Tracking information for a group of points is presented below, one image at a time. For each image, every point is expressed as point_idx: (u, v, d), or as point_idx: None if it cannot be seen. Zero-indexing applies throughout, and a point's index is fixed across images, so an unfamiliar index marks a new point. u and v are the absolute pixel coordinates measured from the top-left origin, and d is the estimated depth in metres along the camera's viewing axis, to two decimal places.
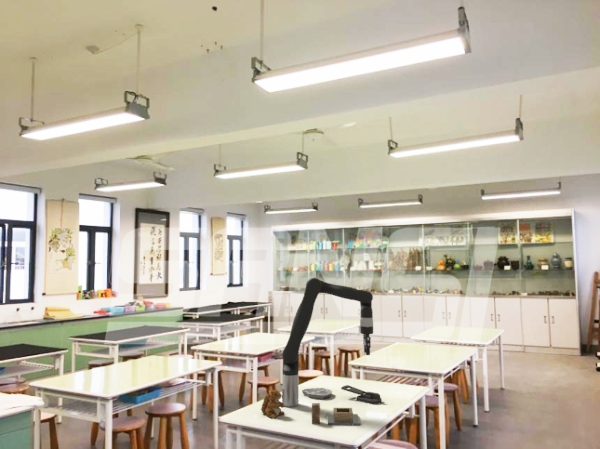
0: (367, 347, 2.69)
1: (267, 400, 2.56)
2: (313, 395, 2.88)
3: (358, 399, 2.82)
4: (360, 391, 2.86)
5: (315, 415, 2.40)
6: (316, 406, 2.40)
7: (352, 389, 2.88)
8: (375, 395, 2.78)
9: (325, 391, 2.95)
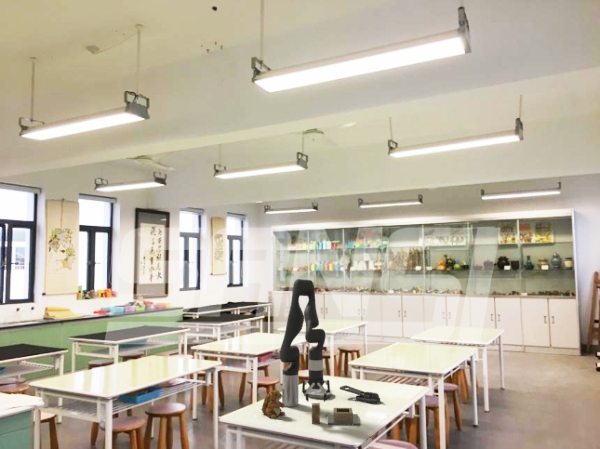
0: (329, 392, 2.42)
1: (267, 400, 2.55)
2: (313, 395, 2.88)
3: (357, 399, 2.82)
4: (359, 391, 2.86)
5: (315, 415, 2.40)
6: (316, 406, 2.40)
7: (350, 389, 2.88)
8: (374, 395, 2.79)
9: None
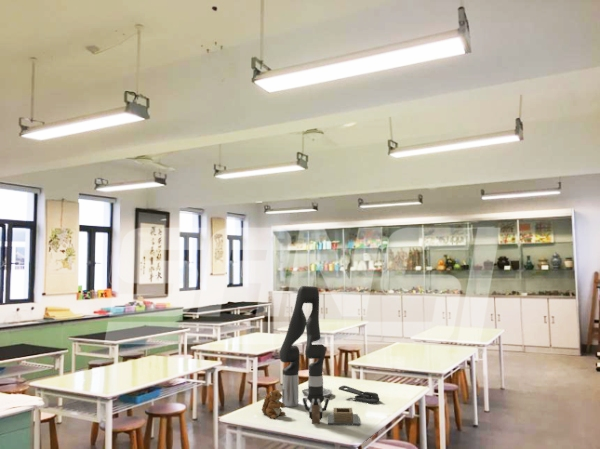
0: None
1: (268, 400, 2.55)
2: None
3: (356, 399, 2.82)
4: (358, 391, 2.86)
5: (315, 415, 2.40)
6: (316, 406, 2.40)
7: (349, 389, 2.87)
8: (373, 395, 2.79)
9: (325, 391, 2.95)
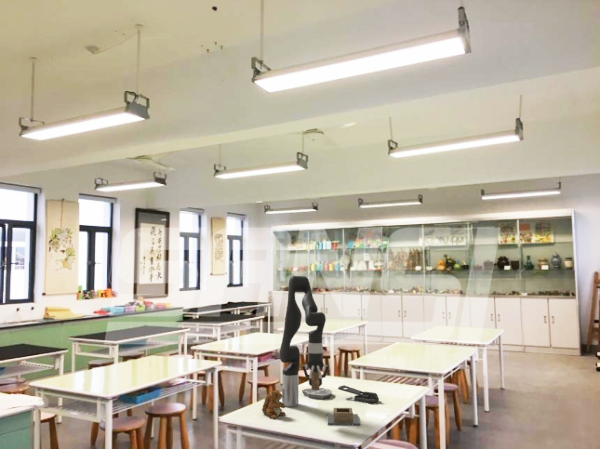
0: (324, 376, 2.43)
1: (268, 400, 2.55)
2: (313, 395, 2.88)
3: (355, 399, 2.82)
4: (357, 391, 2.86)
5: (314, 382, 2.41)
6: (316, 373, 2.42)
7: (349, 389, 2.88)
8: (373, 395, 2.79)
9: (325, 391, 2.95)
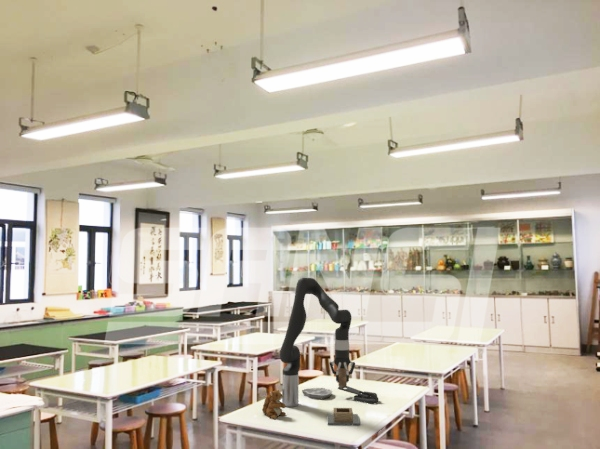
0: (351, 373, 2.46)
1: (268, 400, 2.55)
2: (313, 395, 2.88)
3: (355, 399, 2.83)
4: (357, 391, 2.86)
5: (342, 378, 2.45)
6: (343, 369, 2.45)
7: (349, 389, 2.88)
8: (372, 395, 2.79)
9: (325, 391, 2.95)
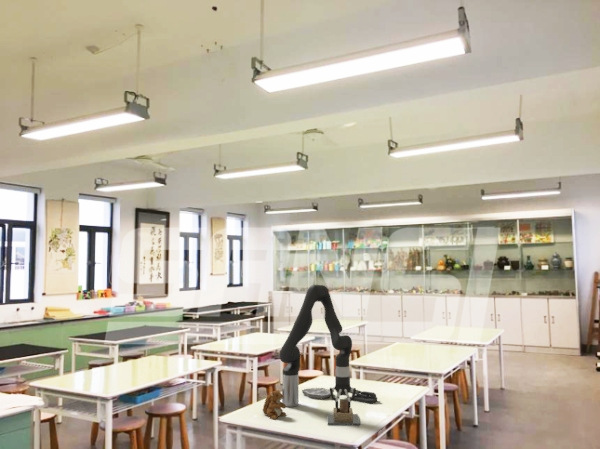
0: (353, 399, 2.45)
1: (268, 401, 2.54)
2: (313, 395, 2.88)
3: (354, 399, 2.83)
4: (356, 391, 2.87)
5: (343, 411, 2.43)
6: (344, 402, 2.44)
7: None
8: (371, 394, 2.80)
9: (325, 391, 2.95)
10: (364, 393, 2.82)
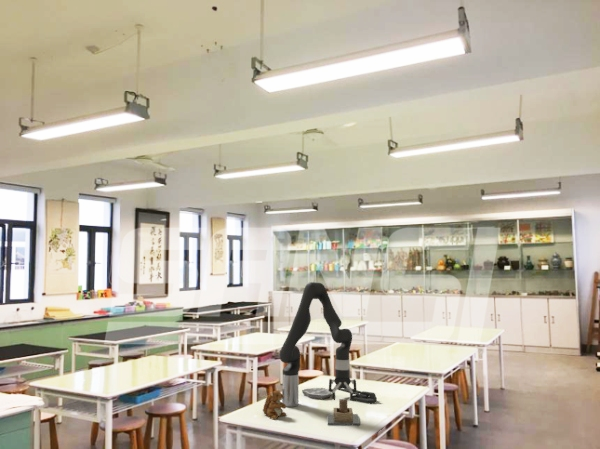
0: (355, 391, 2.45)
1: (269, 401, 2.54)
2: (313, 395, 2.88)
3: (353, 399, 2.83)
4: None
5: (343, 411, 2.43)
6: (344, 402, 2.44)
7: (347, 389, 2.88)
8: (371, 394, 2.80)
9: (325, 391, 2.95)
10: (363, 393, 2.82)
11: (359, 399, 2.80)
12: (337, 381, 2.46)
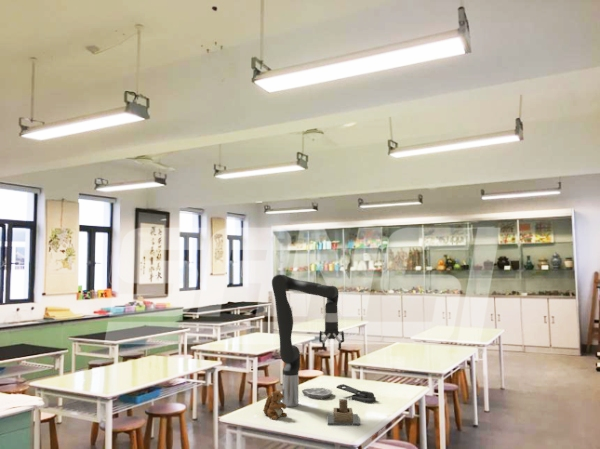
0: (343, 341, 2.71)
1: (269, 401, 2.54)
2: (313, 395, 2.88)
3: (352, 398, 2.85)
4: (355, 390, 2.88)
5: (343, 411, 2.43)
6: (344, 402, 2.44)
7: (347, 388, 2.91)
8: (369, 394, 2.81)
9: (325, 391, 2.95)
10: (362, 392, 2.84)
11: (358, 398, 2.82)
12: (326, 332, 2.71)
